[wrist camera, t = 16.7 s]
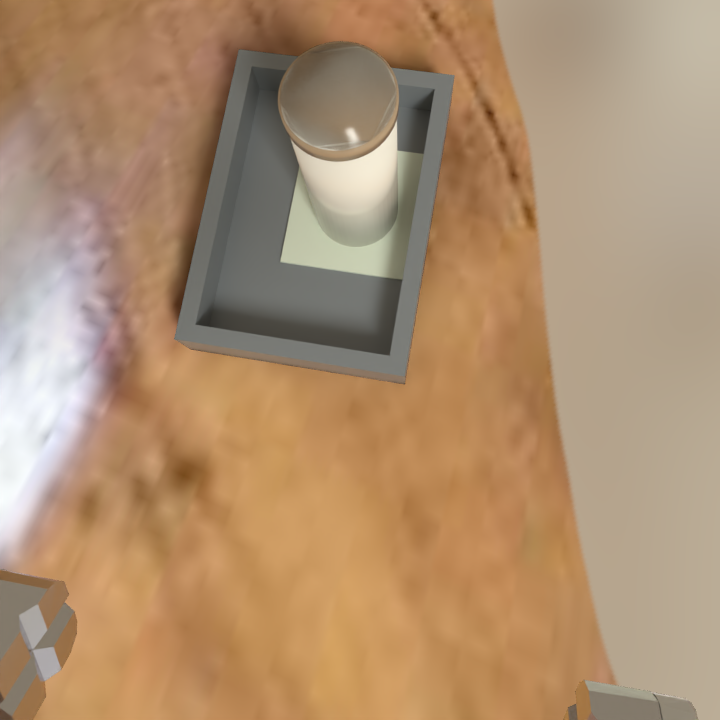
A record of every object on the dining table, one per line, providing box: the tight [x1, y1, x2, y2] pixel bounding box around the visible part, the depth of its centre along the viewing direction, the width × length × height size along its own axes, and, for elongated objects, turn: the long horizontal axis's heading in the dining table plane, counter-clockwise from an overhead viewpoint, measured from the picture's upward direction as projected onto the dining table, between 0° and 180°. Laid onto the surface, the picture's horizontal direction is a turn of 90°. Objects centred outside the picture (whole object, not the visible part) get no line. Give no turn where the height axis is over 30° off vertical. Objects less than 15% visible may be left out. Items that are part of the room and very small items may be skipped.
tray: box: [174, 49, 454, 384], centre depth 40 cm, size 13×18×3 cm
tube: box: [278, 41, 399, 247], centre depth 35 cm, size 5×5×12 cm
